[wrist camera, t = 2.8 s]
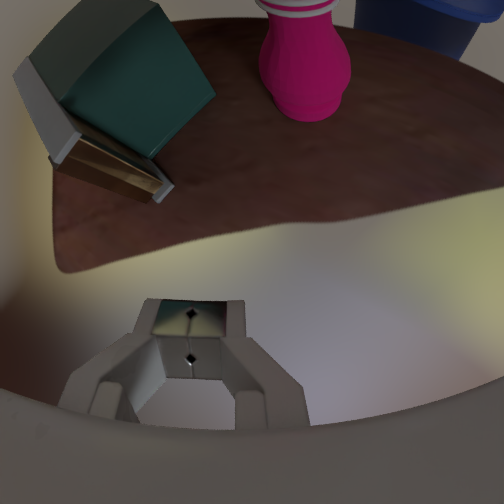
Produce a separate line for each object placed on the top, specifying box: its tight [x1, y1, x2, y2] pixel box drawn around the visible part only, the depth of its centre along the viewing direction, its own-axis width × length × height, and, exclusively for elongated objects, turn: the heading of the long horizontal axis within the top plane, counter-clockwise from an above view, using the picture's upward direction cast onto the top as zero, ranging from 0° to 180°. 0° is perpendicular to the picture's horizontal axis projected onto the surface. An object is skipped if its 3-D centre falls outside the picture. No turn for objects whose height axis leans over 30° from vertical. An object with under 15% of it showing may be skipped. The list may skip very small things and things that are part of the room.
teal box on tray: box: [13, 0, 216, 203], centre depth 20 cm, size 11×15×13 cm
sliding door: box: [48, 107, 164, 203], centre depth 20 cm, size 2×7×11 cm, turn 45°
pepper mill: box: [255, 0, 351, 122], centre depth 14 cm, size 7×7×20 cm
